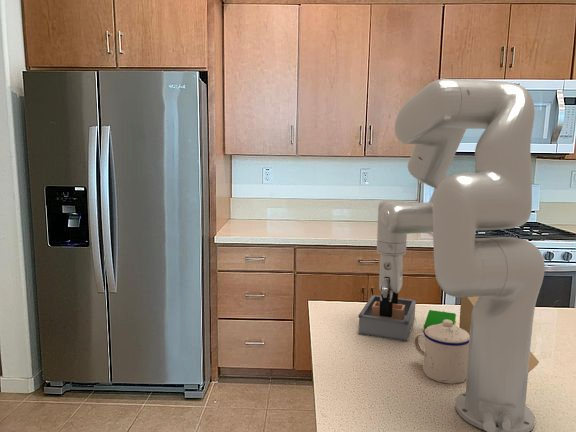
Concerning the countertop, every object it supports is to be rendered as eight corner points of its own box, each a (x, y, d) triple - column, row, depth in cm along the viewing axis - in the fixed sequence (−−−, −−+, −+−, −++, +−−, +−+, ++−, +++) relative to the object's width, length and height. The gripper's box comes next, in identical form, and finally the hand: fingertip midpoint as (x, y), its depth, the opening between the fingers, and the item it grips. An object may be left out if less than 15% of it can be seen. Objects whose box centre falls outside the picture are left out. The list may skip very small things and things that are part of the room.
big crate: (407, 342, 109) (408, 322, 108) (357, 334, 113) (358, 315, 112) (415, 317, 125) (416, 300, 125) (371, 311, 130) (372, 294, 129)
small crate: (402, 328, 116) (402, 310, 115) (371, 324, 119) (372, 306, 118) (404, 322, 120) (405, 305, 119) (374, 318, 123) (375, 301, 122)
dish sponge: (455, 321, 124) (455, 313, 124) (452, 339, 112) (453, 330, 111) (428, 317, 127) (429, 309, 127) (423, 335, 114) (423, 326, 114)
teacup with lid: (475, 375, 93) (479, 321, 91) (454, 390, 86) (458, 332, 85) (423, 355, 101) (426, 306, 100) (401, 368, 95) (404, 316, 94)
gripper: (401, 255, 107) (398, 323, 109) (409, 242, 123) (407, 302, 125) (370, 252, 110) (368, 319, 112) (382, 240, 126) (380, 299, 128)
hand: (388, 310), depth 119 cm, fingers open, 9 cm apart
